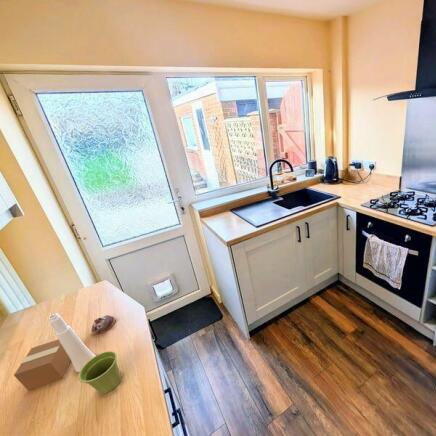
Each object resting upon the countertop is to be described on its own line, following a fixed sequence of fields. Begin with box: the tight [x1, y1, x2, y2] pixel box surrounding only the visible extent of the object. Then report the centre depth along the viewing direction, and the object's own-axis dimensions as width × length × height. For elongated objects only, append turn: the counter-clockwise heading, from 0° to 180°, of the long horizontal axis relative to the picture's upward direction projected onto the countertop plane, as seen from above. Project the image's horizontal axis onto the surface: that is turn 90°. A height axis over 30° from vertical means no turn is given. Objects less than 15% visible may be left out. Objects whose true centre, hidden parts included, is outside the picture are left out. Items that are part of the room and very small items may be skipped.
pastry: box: [91, 314, 116, 335], centre depth 97 cm, size 8×8×5 cm
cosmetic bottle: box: [48, 312, 97, 373], centre depth 79 cm, size 6×6×22 cm
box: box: [13, 338, 72, 392], centre depth 80 cm, size 9×10×8 cm
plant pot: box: [77, 350, 122, 395], centre depth 74 cm, size 9×9×9 cm
